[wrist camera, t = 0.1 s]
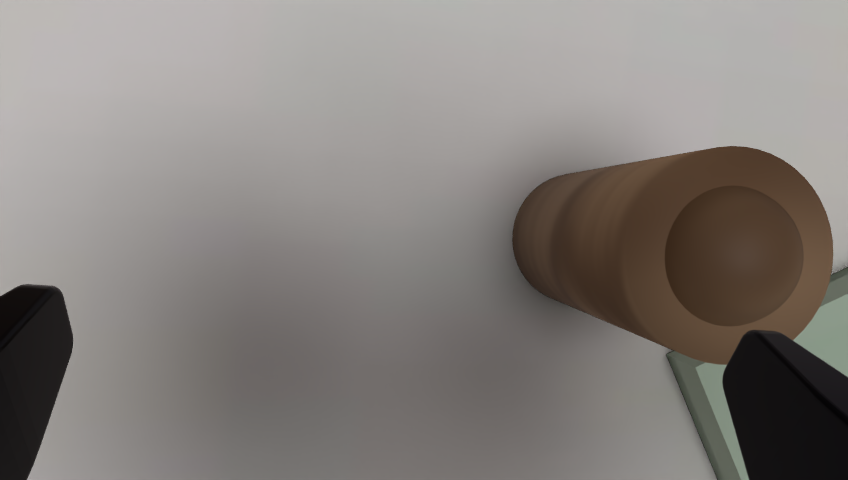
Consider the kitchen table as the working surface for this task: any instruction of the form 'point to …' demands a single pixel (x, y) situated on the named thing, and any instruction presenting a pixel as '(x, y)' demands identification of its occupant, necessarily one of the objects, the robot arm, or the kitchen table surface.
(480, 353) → the kitchen table surface
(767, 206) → the mill
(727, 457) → the tray
